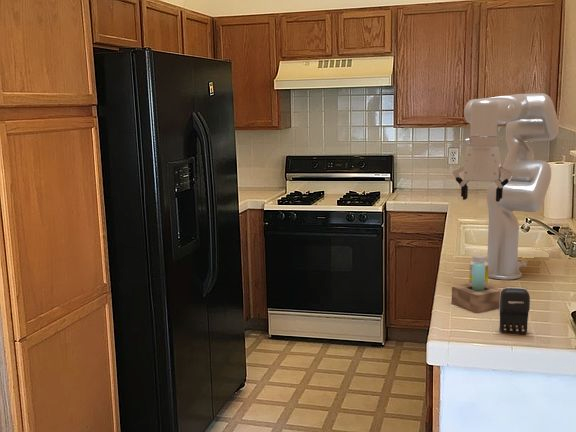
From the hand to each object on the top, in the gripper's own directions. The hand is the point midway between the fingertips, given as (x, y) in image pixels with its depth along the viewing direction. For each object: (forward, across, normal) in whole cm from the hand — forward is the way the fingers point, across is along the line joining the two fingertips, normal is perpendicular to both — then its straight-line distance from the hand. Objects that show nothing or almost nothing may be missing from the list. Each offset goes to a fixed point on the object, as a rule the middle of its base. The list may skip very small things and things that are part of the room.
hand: (481, 200), depth 188 cm
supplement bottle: (+28, -1, +4) cm, 29 cm away
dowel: (+28, +3, -14) cm, 32 cm away
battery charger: (+28, +16, -32) cm, 46 cm away
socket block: (+28, +3, -14) cm, 32 cm away
